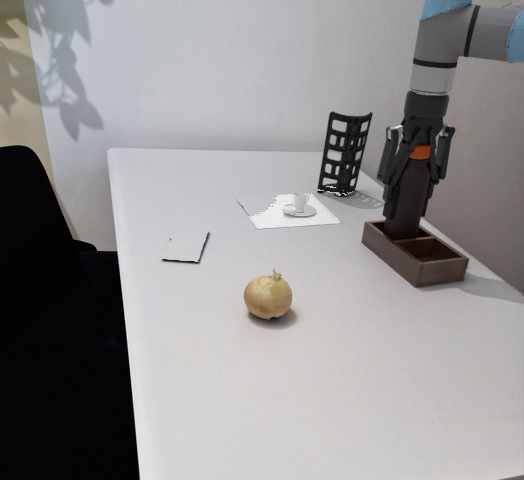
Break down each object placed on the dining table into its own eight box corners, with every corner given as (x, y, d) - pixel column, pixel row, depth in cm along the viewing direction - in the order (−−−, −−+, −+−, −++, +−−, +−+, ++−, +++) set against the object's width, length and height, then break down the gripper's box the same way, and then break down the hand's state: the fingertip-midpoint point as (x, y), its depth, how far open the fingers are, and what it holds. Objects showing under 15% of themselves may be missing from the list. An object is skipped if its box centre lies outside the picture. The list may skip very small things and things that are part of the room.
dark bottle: (416, 240, 118) (437, 141, 107) (412, 252, 113) (435, 150, 102) (383, 234, 120) (401, 137, 109) (379, 246, 115) (397, 145, 103)
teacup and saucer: (284, 219, 128) (286, 201, 126) (274, 206, 134) (275, 189, 132) (320, 216, 130) (322, 199, 128) (308, 204, 137) (310, 187, 134)
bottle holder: (404, 237, 123) (409, 217, 121) (463, 280, 107) (469, 258, 105) (361, 242, 120) (364, 221, 117) (415, 287, 104) (420, 265, 101)
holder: (347, 183, 150) (362, 105, 137) (363, 195, 145) (380, 116, 132) (312, 188, 146) (324, 108, 133) (327, 201, 141) (341, 119, 128)
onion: (287, 328, 90) (291, 289, 86) (238, 321, 91) (240, 282, 87) (293, 303, 97) (296, 266, 93) (247, 298, 98) (249, 260, 94)
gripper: (461, 86, 106) (434, 205, 119) (369, 88, 100) (351, 212, 113) (487, 95, 100) (455, 218, 113) (391, 96, 94) (369, 227, 107)
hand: (403, 215), depth 113 cm, fingers closed on dark bottle, 7 cm apart
